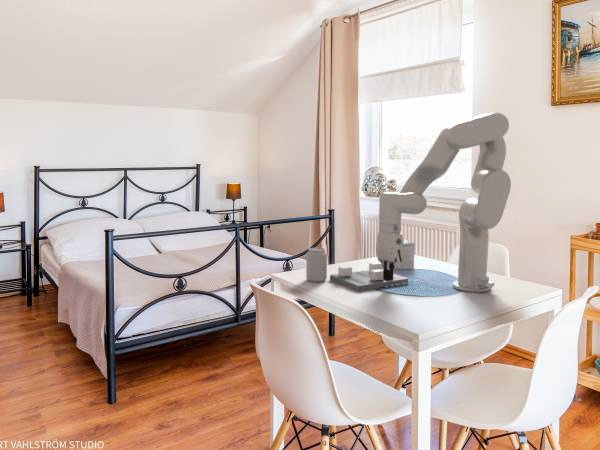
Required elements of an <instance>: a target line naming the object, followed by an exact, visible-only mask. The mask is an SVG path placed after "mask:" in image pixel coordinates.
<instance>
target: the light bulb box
mask: <svg viewBox="0 0 600 450" xmlns="http://www.w3.org/2000/svg"><path fill="white" fill-rule="evenodd" d="M403 245H404V259H403V261H400V266H396V267H395V269H399V270H408V269H414V268H415V249H416V248H415V246H416V242H415V241H410V240H407V239H404V238H403Z"/></svg>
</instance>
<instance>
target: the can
mask: <svg viewBox="0 0 600 450" xmlns="http://www.w3.org/2000/svg"><path fill="white" fill-rule="evenodd" d="M327 260H328V253H327V251H326V249H325V248H323V247H309V248H308V249H307V252H306V274H305V275H306V276H305V278H306V279H307V280H308V282H311V283H323V282H325V281H326V280H327V279H328V278H327V277H328V276H327V275H328V273H327V268H328V265H327V264H328V263H327V262H328V261H327Z"/></svg>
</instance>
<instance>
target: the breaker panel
mask: <svg viewBox="0 0 600 450" xmlns="http://www.w3.org/2000/svg"><path fill="white" fill-rule="evenodd" d="M377 269H380V270H383V268H382V264H381V262H379V261H376V262H368V269H365V270H364V269H363V270H359V271H358V270H356V271H353V267H352V266H349V265H342V266H338V269H337V270H338V271H337V272H338V273H333V274H330V275H329V281H332V282H334V283H336V284H339V285H341V286H344V287H346V288H348V289H351V290H353V291H355V292H357V293H358V292H364V291H371V290H377V289H376V288H378V289H381V288H380V287H385V288H387V287H386V286H391V285H396V284H403V283H408V284H409V278H408V277H405V276H401V275H399V274H396V273H393V280H392V281H384V280H383V279H381V280H373V279H370V270H377ZM391 287H392V286H391Z"/></svg>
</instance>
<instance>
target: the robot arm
mask: <svg viewBox="0 0 600 450" xmlns="http://www.w3.org/2000/svg"><path fill="white" fill-rule="evenodd" d="M509 127H510V122H509V119H508V117H507V116H505V114H503V113H501V112H490V113H482V114H479V115H477V116H475V117H474V118H473V119H469V120H466V121H465V120H464V121H461V122H455V123H450V124H447V125H446V126H445V127H443V129H442V130H441V132H440V133H439V135H438V136H437V138H436V140H435V141H434V142H433V144H432V146H431V148H430V149H429V151H428V153H427V154H426V155H425V157H424V158H423V160H422V162H421V163H420V164H419V165H418V166H417V167H416V169H414V171H413V172H412V173H411V175H409V177H408V179H407V180H406V182H405V183H404V185H403V187H402V189H401V190H400V191H399V192H397V191H383V192H381V193H380V194H379V198H378V200H379V205H378V207H379V208H378V230H377V231H378V232H377V235H376V245H375V255H376V258H377V262H379V263H381V264H382V270H383V280H384V281H392V280H393V274H394V270H395V269H396V266H400V261H403V259H404V245H403V239H404V238H403V233H402V214H407V215H419V214H421V213H423V212H424V211H425V210H426V208H427V205H428V203H427V199H426V197H425V196H424V195H423V194H424V193H425V191H426V190H427V188H428V187H429V186H430V185H431V184H432V183H433V182H435V181H437V180H438V179H440V178H441V177H443V176H444V175H445V174H446V173H447V171H448V170H449V168H450V167H451V165H452V164H453V162H454V160H455V158H457V155H458V154H459V153H460V150H463V149H468V148H472V147H476V146H479V153H478V157H477V162H476V164H475V166H474V167H475V168H474V172H473V174H472V177H471V180H470V181H471V182H470V186H471V189H472V190H473V191H474V193H476V194H478V196H477V197H470V198H468V199H466V200H464V201H463V202H462V203H461V205H460V207H459V210H458V222H459V250H458V251H459V252H458V269H457V270H458V271H457V280H455V281H453V283H452V287H453V288H454V289H457V290H458V291H463V292H470V293H483V292H484V293H485V292H488V291H491V289H492V288H493V287H494V286H495V282H493V281H492V282H491V281H490V277H489V276H487V273H488V255H489V245H490V244H489V243H490V242H489V239H490V236H489V230H491V229H493V228H495V227H497V225H499V223H500V222H501V219H503V214H504V211H505V209H506V205H507V202H508V199H509V196H510V192H511V187H512V184H511V177H510V175H509V174H508V172H506V171H505V170H503V168H504V164H505V160H506V156H507V144H506V141H505V138H504V136H505V135H506V134H507V133H508V130H509Z"/></svg>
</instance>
